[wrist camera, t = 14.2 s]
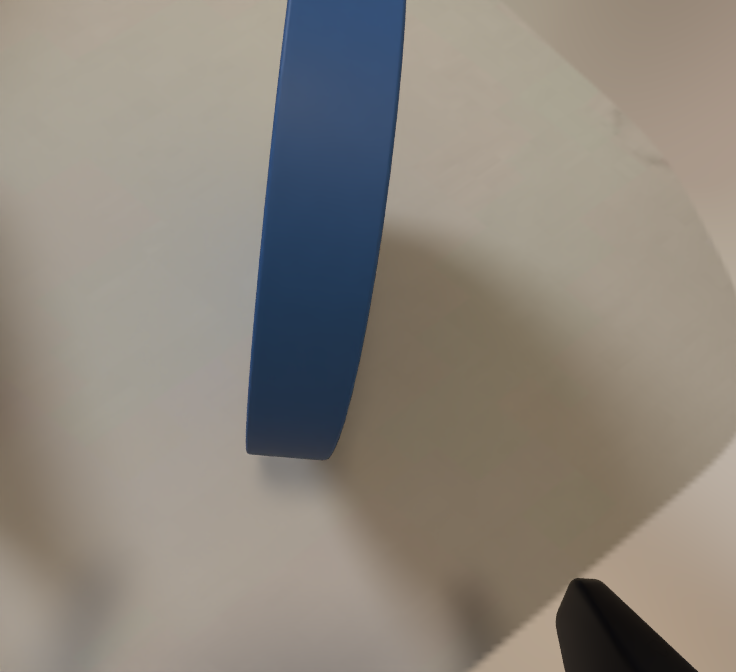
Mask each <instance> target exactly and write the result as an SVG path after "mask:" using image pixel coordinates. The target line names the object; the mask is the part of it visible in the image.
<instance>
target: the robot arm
mask: <svg viewBox="0 0 736 672" xmlns="http://www.w3.org/2000/svg"><path fill="white" fill-rule="evenodd" d="M556 629H557V635H558V639H559V644H560V649H561V654H562V659H563V663H564V668H565V672H698V671H697V670H696V669H694V667H692V666H691V665H690V664H689V663H688V662H687V661H686V660H685V659H684V658H683V657H682V656H681V655H680V654H679V653H677V652H676V651H675V650H674V649H673V648H672V647H671V646H670V645H669V644H668V643H667V642H666V641H665V640H664V639H663V638H662V637H660V636H659V635H658V634H657V633H656V632H655V631H654V630H653V629H652V628H651V627H650V626H649V625H648V624H647V623H646V622H645V621H643V620H642V619H641V618H640V617H639V616H638V615H637V614H636V613H635V612H634V611H633V610H632V609H631V608H630V607H629V606H627V605H626V604H625V603H624V602H623V601H622V600H621V599H620V598H619V597H618V596H617V595H616V594H615V593H614V592H613V591H611V590H610V589H609V588H608V587H607V586H606V585H605V584H604V583H603V582H601V581H599V580H596V579H584V578H576V579H574V580H572V581H571V582H570V584H569V586H568V589H567V591H566V593H565V595H564V598H563V600H562V602H561V605H560V607H559V609H558V612H557V616H556Z"/></svg>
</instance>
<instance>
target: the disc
mask: <svg viewBox="0 0 736 672" xmlns="http://www.w3.org/2000/svg"><path fill="white" fill-rule="evenodd" d="M405 13H406V0H288V1H287V10H286V18H285V26H284V34H283V43H282V51H281V60H280V69H279V77H278V86H277V95H276V104H275V113H274V122H273V131H272V141H271V150H270V159H269V169H268V179H267V189H266V198H265V208H264V218H263V228H262V239H261V249H260V259H259V270H258V281H257V292H256V302H255V314H254V325H253V337H252V349H251V362H250V375H249V388H248V403H247V421H246V451H247V453H248V454H252V455H264V456H276V457H289V458H301V459H313V460H326V459H329V457H330V456H331V455H332V453H333V451H334V449H335V447H336V445H337V442H338V440H339V438H340V434H341V431H342V428H343V425H344V422H345V419H346V415H347V412H348V408H349V404H350V400H351V397H352V393H353V388H354V384H355V379H356V375H357V371H358V366H359V362H360V357H361V352H362V347H363V342H364V337H365V332H366V327H367V321H368V316H369V310H370V304H371V299H372V293H373V287H374V281H375V276H376V269H377V263H378V256H379V250H380V243H381V237H382V230H383V224H384V217H385V209H386V202H387V194H388V187H389V180H390V172H391V164H392V155H393V147H394V138H395V129H396V121H397V111H398V101H399V90H400V80H401V70H402V57H403V43H404V30H405Z"/></svg>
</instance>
